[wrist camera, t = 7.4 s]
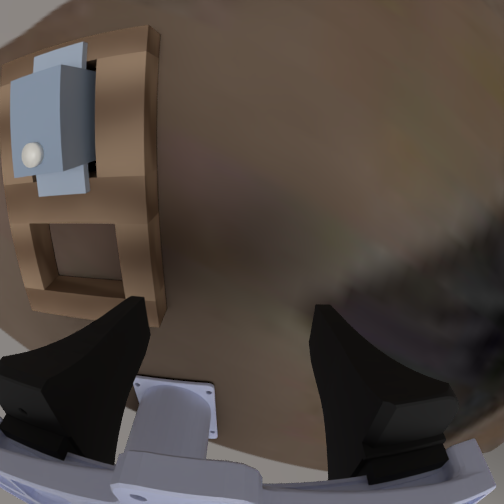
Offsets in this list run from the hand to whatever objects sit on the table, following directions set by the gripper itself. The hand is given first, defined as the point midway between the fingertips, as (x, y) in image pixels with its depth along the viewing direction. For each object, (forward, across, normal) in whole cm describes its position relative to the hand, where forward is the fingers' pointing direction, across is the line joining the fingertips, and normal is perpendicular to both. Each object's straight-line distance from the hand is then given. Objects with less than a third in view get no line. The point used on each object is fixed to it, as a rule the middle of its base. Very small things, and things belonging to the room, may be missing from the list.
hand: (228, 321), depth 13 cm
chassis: (+9, +12, -4) cm, 15 cm away
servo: (+10, +11, -9) cm, 17 cm away
